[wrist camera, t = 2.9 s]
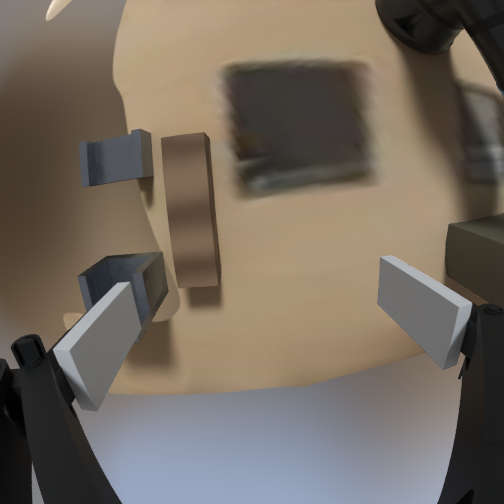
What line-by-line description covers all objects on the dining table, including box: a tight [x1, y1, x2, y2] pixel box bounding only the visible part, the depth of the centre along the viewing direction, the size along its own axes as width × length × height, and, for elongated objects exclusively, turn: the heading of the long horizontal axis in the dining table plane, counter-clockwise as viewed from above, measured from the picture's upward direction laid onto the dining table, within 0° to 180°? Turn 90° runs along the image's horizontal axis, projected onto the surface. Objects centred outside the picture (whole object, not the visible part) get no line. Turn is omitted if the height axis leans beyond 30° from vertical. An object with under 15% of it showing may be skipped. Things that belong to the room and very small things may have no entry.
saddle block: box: [79, 129, 154, 187], centre depth 33 cm, size 6×9×4 cm, turn 94°
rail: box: [161, 132, 221, 288], centre depth 35 cm, size 18×5×6 cm, turn 4°
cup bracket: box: [73, 252, 168, 343], centre depth 33 cm, size 6×9×14 cm, turn 94°
